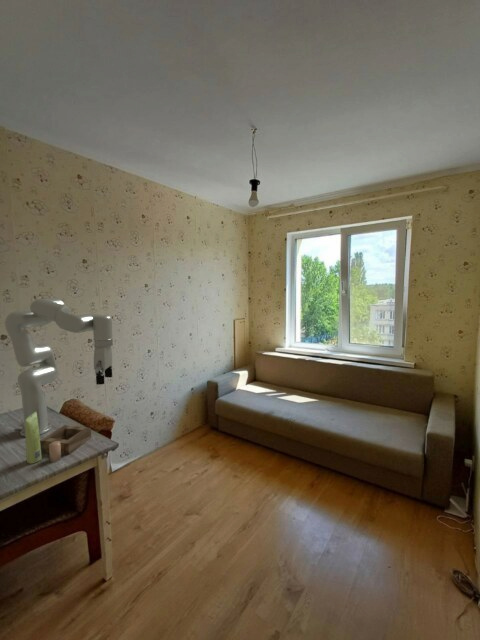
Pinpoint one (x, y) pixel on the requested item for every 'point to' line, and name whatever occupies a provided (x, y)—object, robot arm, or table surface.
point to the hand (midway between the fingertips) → (104, 380)
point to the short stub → (55, 451)
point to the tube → (32, 439)
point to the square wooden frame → (72, 432)
